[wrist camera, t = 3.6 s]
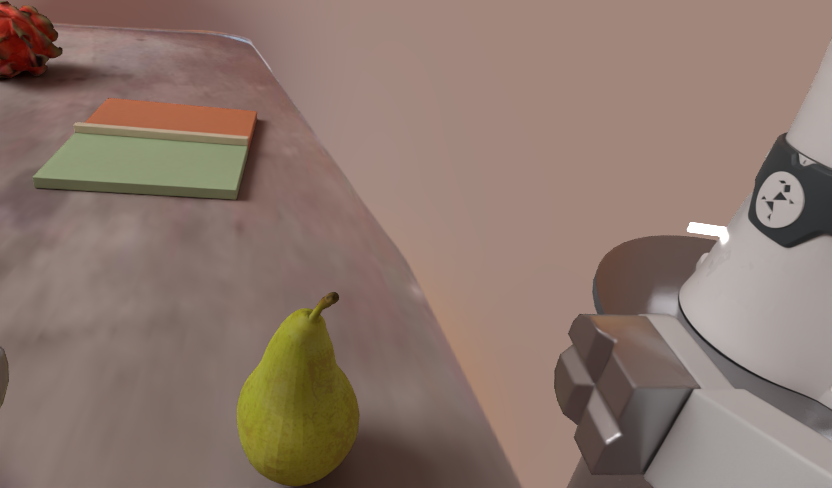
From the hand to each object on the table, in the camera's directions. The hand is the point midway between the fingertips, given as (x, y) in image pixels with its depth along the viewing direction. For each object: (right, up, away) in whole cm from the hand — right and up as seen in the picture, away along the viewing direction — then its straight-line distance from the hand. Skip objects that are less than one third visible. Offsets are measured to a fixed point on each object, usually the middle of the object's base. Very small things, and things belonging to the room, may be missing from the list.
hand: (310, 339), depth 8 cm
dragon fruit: (-46, +22, +59) cm, 78 cm away
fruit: (-5, -10, +20) cm, 23 cm away
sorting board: (-24, +11, +48) cm, 55 cm away
